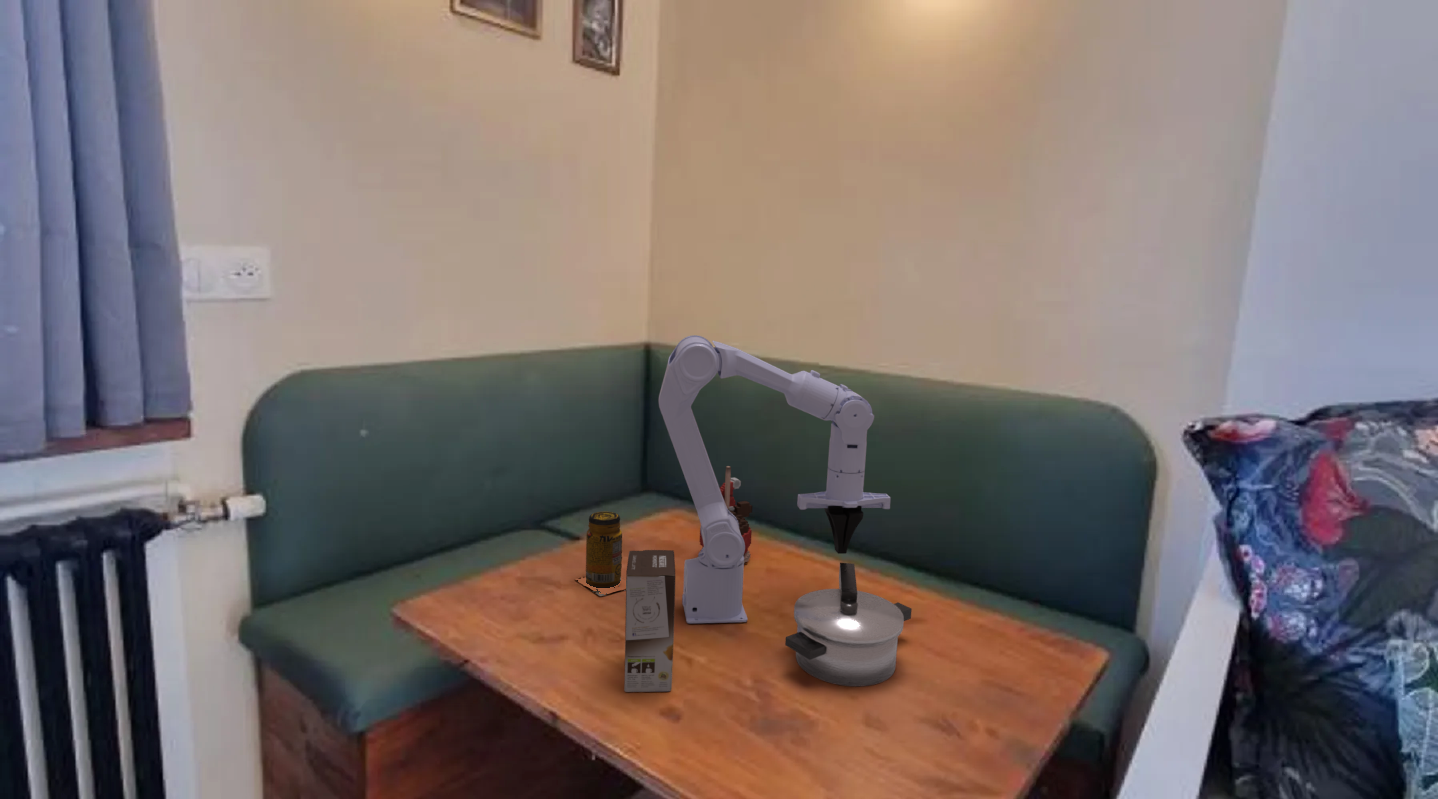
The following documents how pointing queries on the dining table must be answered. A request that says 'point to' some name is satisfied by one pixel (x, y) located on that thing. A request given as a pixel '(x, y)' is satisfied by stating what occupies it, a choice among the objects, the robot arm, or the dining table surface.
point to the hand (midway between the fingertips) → (840, 551)
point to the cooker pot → (845, 658)
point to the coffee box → (649, 620)
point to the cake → (736, 510)
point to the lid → (848, 613)
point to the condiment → (603, 550)
